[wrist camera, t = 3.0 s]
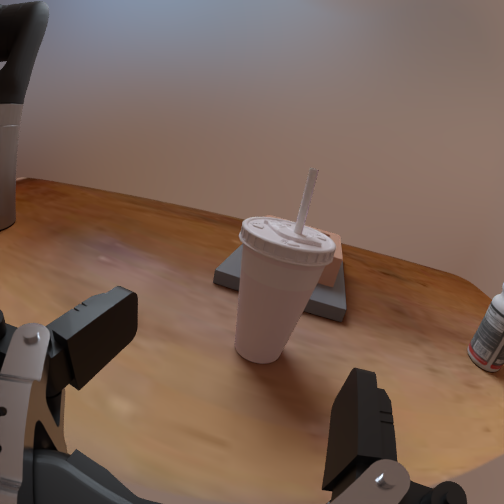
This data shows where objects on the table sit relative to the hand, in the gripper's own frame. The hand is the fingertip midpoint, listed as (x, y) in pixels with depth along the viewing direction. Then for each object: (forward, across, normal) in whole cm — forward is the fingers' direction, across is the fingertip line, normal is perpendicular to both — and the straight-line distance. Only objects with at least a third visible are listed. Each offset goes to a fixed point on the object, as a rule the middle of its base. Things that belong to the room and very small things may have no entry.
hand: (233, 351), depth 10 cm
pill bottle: (+18, -27, +8) cm, 33 cm away
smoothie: (+11, 0, +8) cm, 14 cm away
